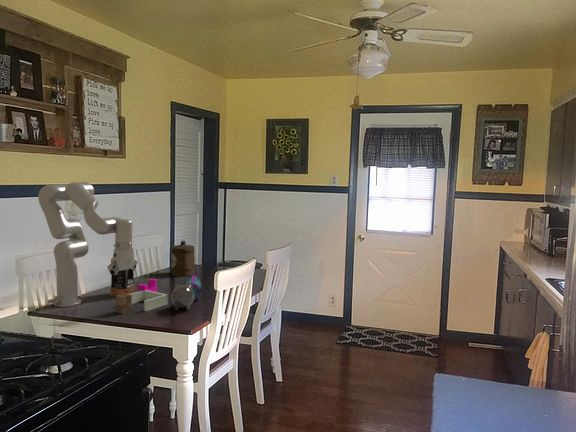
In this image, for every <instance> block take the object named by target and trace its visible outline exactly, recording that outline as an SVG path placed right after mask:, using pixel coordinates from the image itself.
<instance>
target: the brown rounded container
mask: <svg viewBox="0 0 576 432" xmlns="http://www.w3.org/2000/svg"><path fill="white" fill-rule="evenodd" d="M195 263H196V262H195V246H194V245H191V244H190V245H189V244H186V240H181V241H180V244H178V245H171V263H170V264H171V265H170V266H171V275H172V276H175V277H190V276H192V275H196V274H195V270H196V269H195ZM189 275H190V276H189Z"/></svg>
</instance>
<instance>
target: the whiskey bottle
mask: <svg viewBox="0 0 576 432" xmlns="http://www.w3.org/2000/svg"><path fill="white" fill-rule="evenodd" d="M112 259H113V257H112V258H111V259H110V264H111V263H112ZM112 269H113V268H112ZM115 271H116V270H115ZM115 271H114V272H115ZM128 271H129V269H127V270H122V271H118V273H117V274H116V275H118V279H117V283H112V274H110V275H111V276H110V277H111V280H110V281H111V283H110V286H111V287H110V289H109V290H110V291H109V296H110V297H116V296H117V295H120V294H124V293H125V294H131V293H135V292H136V287H135V285H134V284H135V281H134V280H135V279H134V278H135V277H134V272H135V271H133V280H131V279H128Z"/></svg>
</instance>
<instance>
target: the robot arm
mask: <svg viewBox="0 0 576 432" xmlns="http://www.w3.org/2000/svg"><path fill="white" fill-rule="evenodd" d="M94 194H95V188H94V187H93V185H92V184H91V183H89V182H87V181H85V182H84V181H75V182H70V183H52V184H47V185H44V186H43V187H41V188H40V190H39V192H38V197H37V198H38V199H37V201H38V204H39V206H40V208H41V210H42V212H43V214H44V216H45V220H46V224H47V227H48V229H49V232H50V235H51V236H52V238H53V239H56V240H63V239H68V240H63V241H59V242H58V243H57V244H55V246H54V247H53V256H54V260H55V272H56V275H55V276H56V277H55V278H56V295H55V296H54V297H53V298H50V299H48V300H47V303H48V305H49V304H53V306H54V307H59V308H60V307H62V308H65V307H66V308H68V307H74V306H78V305H80V304H81V303H82V299H80V298H78V297H79V292H78V290H79V289H78V287H79V286H78V285H79V284H78V283H79V282H78V266H77V263H76V261H75V259H79V258H82V257H85V256H87V254H88V253H89V250H90V249H89V244H88V240H87V237H86V234H85V231H84V229H83V225H82V224H81V223H80V221H79V220H78V219H75V218H66V215H65V213H64V209H62V207H61V206H60V205H59V204H58V203H57V202H63V201H64V202H65V201H67V202H68V201H69V202H70V201H71V202H73V204H75V205H76V206H77V207H78V208H79V210H80V211H82V212H83V218H84V222H85V224H87V226H88V227H89V228H90V229H91V230H92V231H94V232H95V233H96V234H98V235H102V236H103V235H109V234H114V235H115V237H114V239H115V241H114V242H115V243H114V245H113V247H114V249H113V252H112V253H113V254H112V258H113V259H112V258H111V259H112V263H111V262H110V264H108V265H107V269H108V272H109V273H110V275H111V274H112V283H117V279H118V275H116V274H117V273H118V271H122V270H127V269H129V271H128V279H131V280H133V271H134V272H135V269H136V268H137V265H138V262H139V261H137V260H136V259H135V250H134V247H133V220H132V219H127V218H119V217H115V216H113V217H104V218H102V217H101V216H100V215H99V214H98V213H97V212H96V211H95V210H96V209H97V208H98V205H99V200H98V199H97V198H96V197H95V196H94ZM112 268H113V269H112ZM115 270H116V271H115ZM114 271H115V272H114Z"/></svg>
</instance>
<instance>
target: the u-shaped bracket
mask: <svg viewBox="0 0 576 432" xmlns="http://www.w3.org/2000/svg"><path fill="white" fill-rule="evenodd" d="M129 295H132V305H133V304H136V303H140V302H143V311H144V312H148V311H152V310H154V309H157V308H160V307H164V306H166V305H169V294H168V293H162V292H152V291H147V290H145V291H139V292H138V291H135V293H131V294H129Z"/></svg>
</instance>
